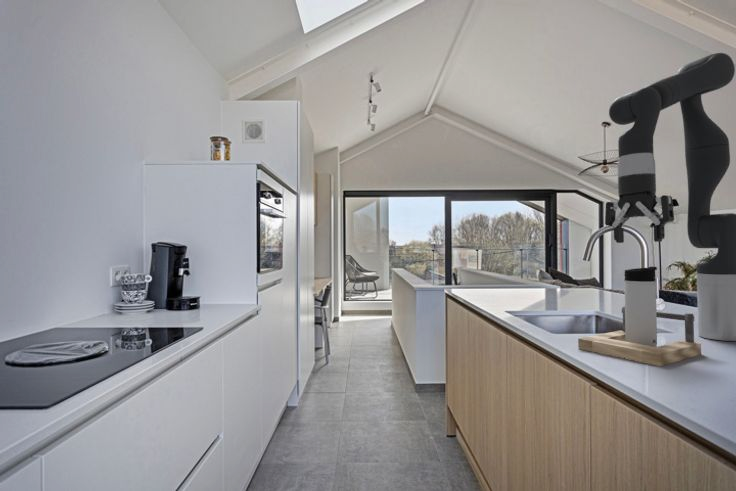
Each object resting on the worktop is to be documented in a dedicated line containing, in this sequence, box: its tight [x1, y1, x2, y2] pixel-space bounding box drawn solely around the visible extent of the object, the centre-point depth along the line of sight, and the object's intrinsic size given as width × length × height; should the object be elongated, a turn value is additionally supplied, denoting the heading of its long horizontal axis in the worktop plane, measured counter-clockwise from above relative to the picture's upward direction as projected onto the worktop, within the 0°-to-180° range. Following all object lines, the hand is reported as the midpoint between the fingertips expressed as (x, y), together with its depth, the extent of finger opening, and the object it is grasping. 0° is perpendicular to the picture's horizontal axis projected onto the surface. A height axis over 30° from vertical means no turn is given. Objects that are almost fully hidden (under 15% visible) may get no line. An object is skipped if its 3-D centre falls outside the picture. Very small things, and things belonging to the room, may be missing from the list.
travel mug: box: [623, 266, 658, 347], centre depth 97 cm, size 6×7×20 cm
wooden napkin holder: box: [577, 306, 702, 367], centre depth 96 cm, size 18×18×9 cm
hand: (638, 242), depth 97 cm, fingers open, 8 cm apart
